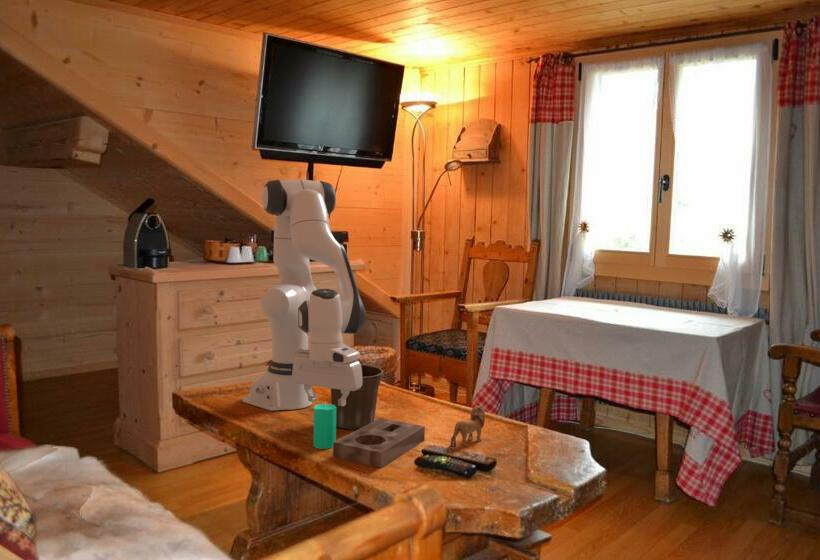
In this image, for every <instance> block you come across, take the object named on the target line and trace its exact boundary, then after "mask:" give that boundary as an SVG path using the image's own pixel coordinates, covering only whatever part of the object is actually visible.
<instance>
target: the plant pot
mask: <svg viewBox="0 0 820 560" xmlns="http://www.w3.org/2000/svg"><path fill="white" fill-rule="evenodd" d="M360 364H361V368H362V386H361V388H360V389H358V390H356V391H350V393H349V395H348V396H347V398H346V405H345V406H338V399H340V398H341V397H342V395H343V394H341V390H340V389H333V388H330V399H331V400H330V401H331V402H330V403H331V405H335V406H336V428H339V429H342V430H353V431H354V430H355V431H356V430H357V429H360V428H362V427H364V426H366V425H368V424H370V423H372V422H374V421H375V417H376V416H375V415H376V410H377V409H376V408H377V402H378V401H377V400H378V394H379V387H380V386H381V382H382V381H381V380H382V376H383V374H384V370H383V369H382V368H380V367H378V366H375V365H374V366H373V365H370V364H363V363H360Z"/></svg>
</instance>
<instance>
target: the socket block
mask: <svg viewBox="0 0 820 560" xmlns="http://www.w3.org/2000/svg"><path fill="white" fill-rule="evenodd" d="M425 433H426V426H425V425H420V424H415V423H409V422H406V421H405V422H404V421H399V420H393V419H388V418H383V417H382V418H381V417H379V418H377V419H376V420H375V419H374V422H372V423H370V424H368V425H366V426H364V427H362V428H357V429H355V431H354V430H353V432H350V433H349V434H346V435H344V436H343V437H340V438H339V439H337V440H336V441H335V442H333V448H332V458H334V459H338V460H341V461H347V462H351V463H356V464H360V465H365V466H369V467H373V468H377V469H382V468H384V467H385V466H387V465H389V464H390V463H392V462H394V461H395V460H397V459H398V458H399V457H402V455H403V456H404V454H406V453H407V452H409V451H410V450H412V449H414V448H416V447H417V446H418V445H420V444H421V443H423V442H424V441H425V437H426V436H425Z"/></svg>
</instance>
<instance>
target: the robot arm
mask: <svg viewBox="0 0 820 560" xmlns="http://www.w3.org/2000/svg"><path fill="white" fill-rule="evenodd" d="M261 202H262V206H263V209H264V211H265V212H266V213H267V214H269V215H272V216H275V221H274V228H273V230H274V231H273V259H272V260H273V264H274V266H275V267H276V269H277V271H278V276H279V281H280V283H279V284H276V285H275V284H274V285H273V286H271V287H270V288H269V289H268V290H266V291H265V292H264V293H263V295H262V296H261V299H260V307H261V311H262V312H263V314H264V315H265V316H266V318H267V319H268V323H269V328H270V332H271V344H272V345H271V346H272V348H271V349H272V351H271V353H272V354H271V355H272V357H271V358H272V359H270V360H269V361H266V362H264V363H265V365H264V366H265V367H266V366H268V367H267V370H266V371H265V372H264V373H262V374H261V375H260V376H259V377H257V378H256V379H254V380H253V381H252V383H251V385H250V389H249V394H247V395H245V396H243V398H242V403H244V404H249V405H252V406H255V407H258V408H261V409H265V410H268V411H271V412H274V411H281V410H282V411H285V410H286V411H287V410H300V409H304V408H307V407H310V406H311V405H312V404H313V402H316V401H317V394H316V393H314V391H313V389H312V388H313V387H319V388H320V387H321V388H327V389H331V388H333V389H340V390H341V394H343V395H342V397H341V398H340V399H338V406H345V405H346V398H347V396H348V395H349V393H350V391H356V390H358V389H360V388H361V386H362V368H361V364H362V363H360V361H359V359H360V358H361V353H360V351H358V350H357V349H356V348H352V347H350V346H348V345H346V344H345V343H344V339H343V335H342V334H349V335H351V334H352V335H353V334H357V333H358V332H359V331H360V330H362V328H363V327H364V326H365V325H366V321H367V313H366V309H365V305H364V303H363V301H362V298H361V295H360V292H359V291H358V286H357V283H356V281H355V276H354V273H353V270H352V266H351V263H350V261H349V257H348V254H347V250H346V249H345V247H344V245H343V244H342V243H340V242H339V241H338V240H337V239H336V238H335V237H334V236H333V233H332V231H331V226H330V219H329V215H330V214H332V212H333V211H334V210H335V207H336V203H337V195H336V190H335V188H334V186H333V184H331V183H330V182H327V181H322V180H320V181H317V180H310V179H284V180H283V179H282V180H279V179H273V180H268V181H267V182H266V183H265V185H264V187H263V190H262V193H261ZM310 261H315V262H316V263H321V264H323V265H325V266H327V267H329V268H331V270H332V271H334V273H335V274H336V279H337V282H338V285H339V289H340V292H341V295H340V293H339V292H338V291H337V290H335V289H330V288H317V287H316V286H315V285H314V280H313V276H312V272H311V265H310V264H311V263H310ZM341 296H342V297H341ZM308 334H309V336H308Z"/></svg>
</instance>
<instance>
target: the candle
mask: <svg viewBox="0 0 820 560" xmlns="http://www.w3.org/2000/svg"><path fill="white" fill-rule="evenodd" d="M336 439H337V427H336V406H335V405H332V404H328V403H326V400H325V401H324V403H319V404H316V405H314V407H313V443H312V444H313V445H312V446H313V447H315V448H316V449H320V450H322V449H323V450H327V449H333V442H335V441H337V440H336Z"/></svg>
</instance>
